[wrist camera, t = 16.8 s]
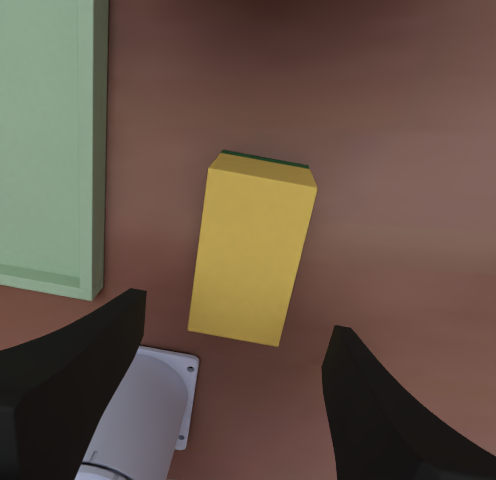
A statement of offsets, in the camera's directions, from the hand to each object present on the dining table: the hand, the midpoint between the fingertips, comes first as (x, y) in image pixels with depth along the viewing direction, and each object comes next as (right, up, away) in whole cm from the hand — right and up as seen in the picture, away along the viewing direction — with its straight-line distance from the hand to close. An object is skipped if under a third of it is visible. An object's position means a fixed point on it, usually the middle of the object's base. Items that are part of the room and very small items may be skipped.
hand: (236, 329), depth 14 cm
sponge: (+1, +4, +9) cm, 10 cm away
